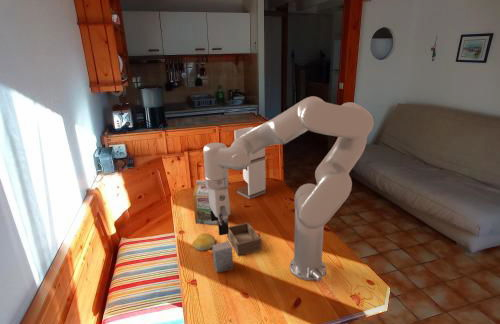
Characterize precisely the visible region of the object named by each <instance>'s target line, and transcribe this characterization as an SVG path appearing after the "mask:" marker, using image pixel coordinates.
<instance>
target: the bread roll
mask: <svg viewBox="0 0 500 324" xmlns="http://www.w3.org/2000/svg"><path fill="white" fill-rule="evenodd" d="M215 244H216V238H215V237H214V236H213V235H212V234H211V233H207V232H203V233H201V234H199V235H197V237H196V238H195V239H193V241H192V247H193V248H194V249H195V250H196V251H207V250H210V249H211V248H212V245H215Z"/></svg>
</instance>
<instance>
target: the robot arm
mask: <svg viewBox="0 0 500 324" xmlns="http://www.w3.org/2000/svg"><path fill="white" fill-rule="evenodd" d="M374 122H375V121H374V117H373V116H372V114H371V113H370V112H369V111H368V110H367V109H366V108H364V107H363V106H361V105H360V104H358V103H355V102H352V101H351V102H349V101H347V102H343V104H341V105H339V104H334V103H330V102H326V101H324V100H323V99H322V98H321V97H318V96H314V95H313V96H311V95H310V96H309V97H308V96H307V97H306V98H303V99H302V100H300V101H299V102H297V103H295V104H293V106H291V107H289V108H287V110H284V111H283V112H281V113H279V114H277V115H276V116H275V117H273V118H271V119H270V120H267V121H265V122H264V123H262V124H259V125H258V126H256V127H254V129H252V130H250V131H249V132H247V133H245V134H244V135H242V136H241V137H239V138H238V139H236V140H235V139H234V141H233V142H232V143H231V145H230V146H229V147H227V145H226V144H225V143H221V142H210V143H207V144H205V145H204V147H203V150H202V151H203V152H202V153H203V164H204V165H203V167H204V181H205V183H206V187H207V188H208V196H209V205H210V210H212V211H210V213H211V221H217V220H219V224H218V226H217V227H218V235H219V236H224V235H227V234H228V233H229V229H228V227H229V216H231V204H230V194H229V189H228V187H229V183H230V182H229V179H230V178H229V170H232V171H233V170H234V171H243V170H244V169H246V168H247V167H248V166H249V164H250V162H251V157H252V155H253V154H255V153H256V152H258V151H259V150H261V149H263V148H265V149H266V147H269V146H272V145H286V144H287V143H289V142H291V141H292V140H294V139H296V138H297V137H300V135H303V134H305V133H306V132H308V131H310V132H313V133H316V134H321V135H326V136H330V137H331V136H333V137H337V139H336V141H335V143H334V144H333V146H332V147H331V149H330V150H329V151H328V153H327V154H326V155H325V156H324V158H323V159H322V161H321V162H320V163H319V164H318V166H317V167H316V169H315V172H314V178H315V182H316V184H313V183H305V184H302V185H300V186H299V187H298V188H297V190H296V191H295V194H294V244H293V245H294V247H293V249H294V252H293V258H292V259H291V260H290V262H289V270H290V272H291V274H292V275H294V276H295V277H296V278H298V279H301V280H305V281H317V282H322V280H323V277H326V272H327V270H326V269H327V268H326V267H327V266H326V263H325V262H324V261H323V245H324V228H325V225H326V224H327V223H328V222H329V221H330V220H331V219H332V217H334V215H335V214H336V213H337V211H338V210H339V209H340V208H341V206H342V205H344V202H345V201H346V200H347V199H348V198H349V196H350V194H351V192H352V186H353V182H352V181H353V180H352V177H351V176H350V172H351V171H352V169H353V168H354V167H355V165H356V164H357V162H358V161H359V159H360V158H361V156H362V155H363V154H364V151H365V148H366V145H367V141H368V135H369V134H370V133H371V132H372V130H373V128H374ZM221 213H222V215H220V214H221ZM221 217H223V218H222V219H221Z"/></svg>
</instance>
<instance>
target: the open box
mask: <svg viewBox="0 0 500 324" xmlns="http://www.w3.org/2000/svg"><path fill="white" fill-rule="evenodd" d="M228 229H229V233H228V234H226V238H227V240H228V241H229V243H230V245H231V246H232V249H233V250H234V251H235V253H236V255H237V256H241V255H245V254H249V253H252V252H253V253H254V252H257V251H260V250H262V238H261V237H260V236H259V234H258V233H257V232H256V230H255V229H254V228H253V226H252V225H251V224H250V223H249V222H244V223H240V224H236V225H232V226H231V225H230V226H228Z"/></svg>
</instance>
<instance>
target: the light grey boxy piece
mask: <svg viewBox="0 0 500 324" xmlns="http://www.w3.org/2000/svg"><path fill="white" fill-rule="evenodd" d="M254 128H255V127H254V126H249V127H244V128H239V129H236V130H233V132H234V133H233V134H234V141H235V140H236V139H238V138H239V137H241V136H242V135H244V134H245V133H247V132H249V131H250V130H252V129H254ZM242 178H243V180H244V181H245V182H246V183H247V185H245V186H243V187H240V188H237V189H236V192H237V194H238V195H240V196H243V197H245V198H247V199H249V200H250V199H253V198H256V197H258V196H260V195H263V194H266V191H267V190H266V186H267V184H266V182H267V181H266V147H265V148H263V149H261V150H259V151H258V152H256V153H255V154H253V155H252V157H251V162H250V164H249V166H248V167H247V168H246V169H244V170H242Z"/></svg>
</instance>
